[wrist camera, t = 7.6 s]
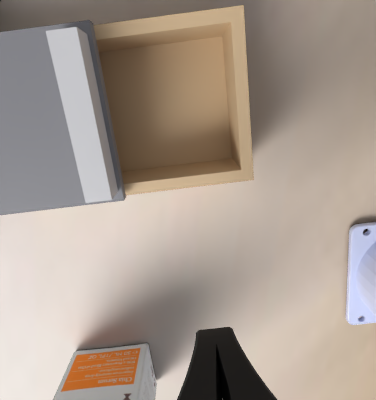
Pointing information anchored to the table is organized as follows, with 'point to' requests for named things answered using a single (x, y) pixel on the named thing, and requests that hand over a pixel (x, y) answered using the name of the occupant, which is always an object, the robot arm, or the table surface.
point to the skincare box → (109, 375)
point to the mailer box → (178, 98)
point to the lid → (55, 121)
